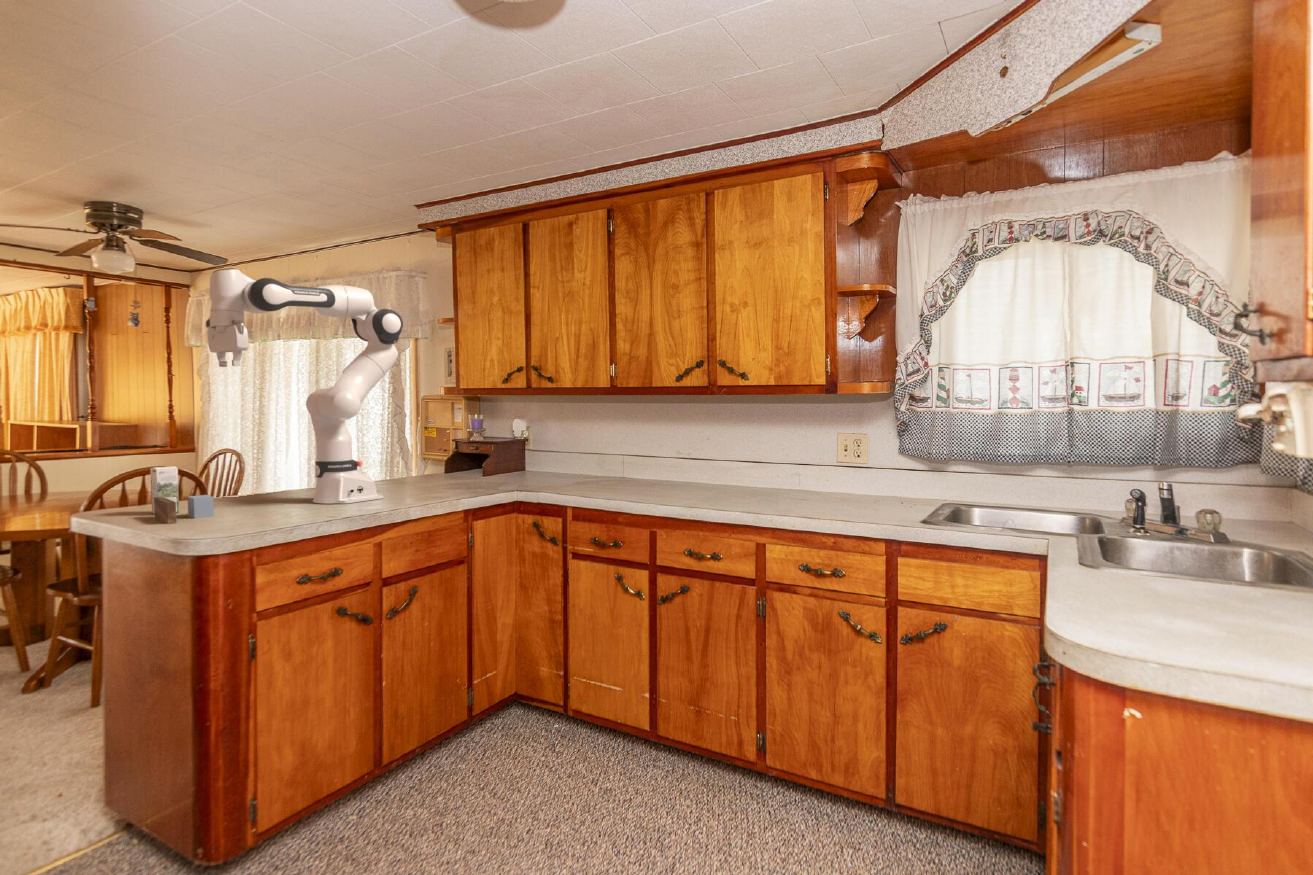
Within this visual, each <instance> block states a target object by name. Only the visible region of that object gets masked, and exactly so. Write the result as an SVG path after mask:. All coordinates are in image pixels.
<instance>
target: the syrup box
mask: <svg viewBox="0 0 1313 875" xmlns="http://www.w3.org/2000/svg"><path fill="white" fill-rule="evenodd" d="M150 487H151V488H150V489H151V492H150V493H151V494H150V495H151V513H152V514H153V515H155V510H154V497H164V498H167V499H169V500H172V501H174V502H176V514H178V513H180V502H179V500H180V499H179V498H180V496H179V469H178V467H177V466H175V465H168V466H154V467H150Z"/></svg>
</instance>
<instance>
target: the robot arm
mask: <svg viewBox="0 0 1313 875" xmlns="http://www.w3.org/2000/svg"><path fill="white" fill-rule="evenodd" d="M209 298H210V301H211V307H210V309H209V314H210V315H209V317H208V318H207V320H206V321H205V328H206V329H207V342H208V349H209V351H210V352H211V353H215V354H216V357H217V361H218V367H219V368H227V366H228V362H227V361H226V354H227V353H232V356H233V357H232V359H231V366H232V367H241V359H242V356H243V352H246V351H248V350H249V347H250V343H249V342H250V341H249V333H248V332H249V331H248V329H247V327H246V326H245V312H249V313H251V314H257V315H259V314H264V313H265V314H266V313H268V312H269V313H270V312H277V311H279V310H282V309H283V308H284V309H285V308H286V307H300V308H301V307H302V308H305V307H306V308H313V309H315V310H316V311H317V312H318V314H320V315H322V316H325V317H329V318H330V317H331V318H345V319H346V318H349V319H351V323H352V327H353V331H354V334H355V335H356V337H357V338H359V339H360V340H362V341H364V342H367V345H366V347H365V348H364V349H363V350H362V351H361V352H360V353H359V354H358V355H357V356H356V357H355V358H354V359H353V360H352V361H351V362H350V363H349V364H348V365H347V366H346V367H345V368H344V369H343V370H342V374H341V376H340V377H339V379H338V380H337V381H336V383H335V384H334V385H333V386H331V387H329V388H328V387H327V388H319V389H316V390H315V391H313V392H311V393H310V394H309V395H308V396H307V397H306V401H305V406H306V409H307V411H308V413H309V415H310V419H311V424H312V428H313V431H314V435H315V446H316V449H315V450H316V461H315V466H314V467H315V468H314V471H315V477H316V484H315V491H314V495H313V500H312V503H314V504H345V505H346V504H352V503H353V504H354V503H359V502H367V501H371V500H379V499H380V500H381V499H384V495H383V493H379V492H377V486H376V483H375V481H374V480H373V479H372V478H371V477H369V476H367V475H366V474H364V473H363V472H361V471H360V470H359V469H358V467H362V466H363V465H364V463H363V461H361V460H355V459H353V450H352V449H353V446H352V445H353V444H352V435H351V434H350V433H349V430H348V428H347V424H346V421H347V420H350V419H351V418H354V417H356V416H357V415H358V414H359V413H360V411H361V408H362V404H363V402H364V400H365V398H366V397H367V396H368V394H369V393H370V391H372V389H374V387H375V386H376V385H377V384H378V383H379V382H380V381H381V380H382V379H383V378H384V377H385V375H387V373H388V372H389V371H390V370H391V369H392V367H393V366H394V365H395V363H396V362H397V360H398V357H399V352H398V350H397V348H396V346H395V345H394V344H397V343H398V342H399V338H400V335H401V333H402V331H403V327H404V321H403V318H402V316H401V315H400V314H399V313H398V312H397V311H395V310H393V309H389V308H381V309H377V306H375V300H374V297H373V294H372V293H371V292H370V291H369V290H368V289H365V288H362V287H358V286H353V285H344V284H325V285H319V286H317V287H309V286H308V287H307V286H299V285H297V286H296V285H288V284H286V283H284V282H282V281H279V280H277V279H275V278H270V277H262V278H259V279H257V280H255V279H253V278H251V277H249V276H247V275H246V274H244V273H243V272H242V271H240V269H239V268H238V269H237V268H233V267H232V268H231V267H229V268H228V267H227V268H220V269H216V270H214V271H213V272H212V273H211V274H210V277H209Z"/></svg>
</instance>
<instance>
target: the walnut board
mask: <svg viewBox="0 0 1313 875" xmlns="http://www.w3.org/2000/svg"><path fill="white" fill-rule="evenodd" d="M154 510H155V514H154V518H156V519H157V520H160V521H162V522H164V523H166V524H169V525H170V524H176V523H177V521H178V520H177V513H176V502H174V501H172V500H169V499H167V498H164V497H154Z"/></svg>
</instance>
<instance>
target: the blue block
mask: <svg viewBox="0 0 1313 875" xmlns="http://www.w3.org/2000/svg"><path fill="white" fill-rule="evenodd" d="M214 507H215V506H214V496H212V495H209V494H201V495H190V496H189V495H188V496H187V516H188V517H190V518H193V519H202V518H210V517H212V518H213V517H215V510H214Z"/></svg>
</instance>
